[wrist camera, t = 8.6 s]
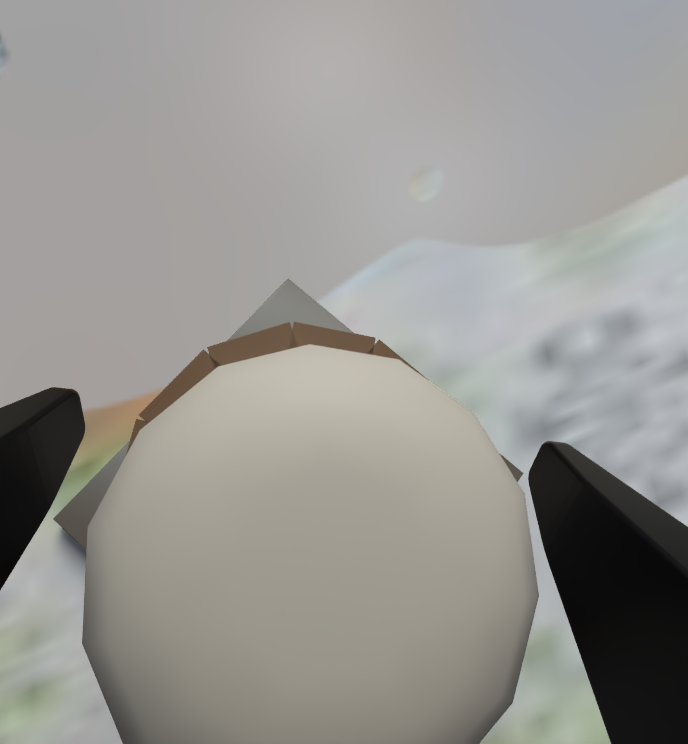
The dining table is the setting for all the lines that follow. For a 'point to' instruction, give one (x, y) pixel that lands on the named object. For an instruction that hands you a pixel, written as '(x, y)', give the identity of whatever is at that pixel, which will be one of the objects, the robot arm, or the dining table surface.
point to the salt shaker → (310, 562)
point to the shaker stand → (253, 339)
